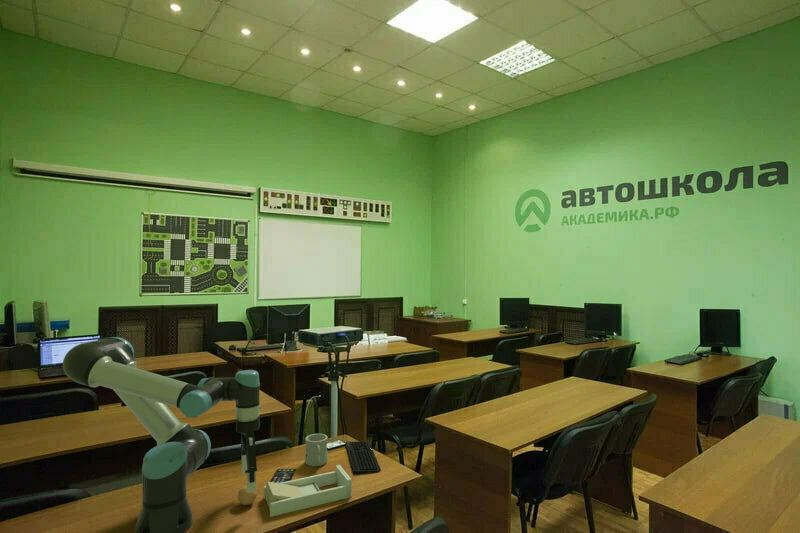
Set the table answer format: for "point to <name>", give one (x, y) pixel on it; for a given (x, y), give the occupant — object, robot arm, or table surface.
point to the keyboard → (362, 458)
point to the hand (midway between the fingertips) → (248, 482)
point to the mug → (316, 449)
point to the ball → (246, 496)
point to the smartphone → (283, 475)
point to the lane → (307, 492)
